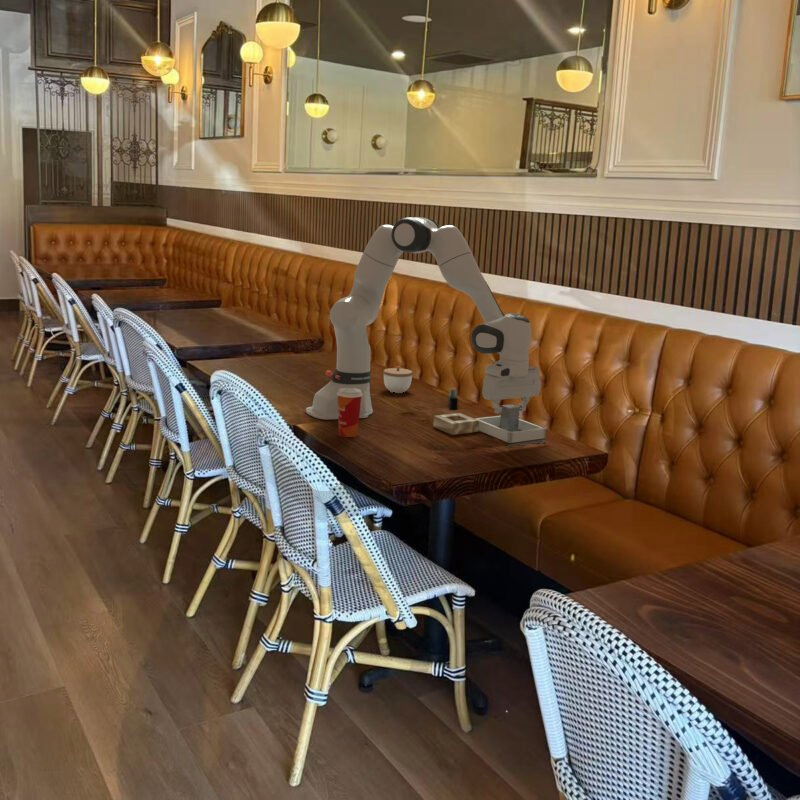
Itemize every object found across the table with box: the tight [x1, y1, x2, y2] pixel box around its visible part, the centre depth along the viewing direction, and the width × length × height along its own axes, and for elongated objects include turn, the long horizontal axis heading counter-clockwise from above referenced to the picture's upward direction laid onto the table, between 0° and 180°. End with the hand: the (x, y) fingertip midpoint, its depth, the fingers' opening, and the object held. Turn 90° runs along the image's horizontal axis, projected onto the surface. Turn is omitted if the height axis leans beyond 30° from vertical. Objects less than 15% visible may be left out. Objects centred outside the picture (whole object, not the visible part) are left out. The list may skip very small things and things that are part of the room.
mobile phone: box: [448, 389, 459, 411], centre depth 308 cm, size 5×3×15 cm
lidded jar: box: [383, 365, 413, 394], centre depth 325 cm, size 11×11×9 cm
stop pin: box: [499, 403, 521, 432], centre depth 269 cm, size 4×4×9 cm
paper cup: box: [337, 388, 362, 438], centre depth 263 cm, size 8×8×14 cm
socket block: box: [432, 412, 479, 436], centre depth 271 cm, size 10×10×5 cm
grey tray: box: [474, 415, 547, 448], centre depth 270 cm, size 14×18×4 cm
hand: (510, 411), depth 269 cm, fingers open, 8 cm apart
